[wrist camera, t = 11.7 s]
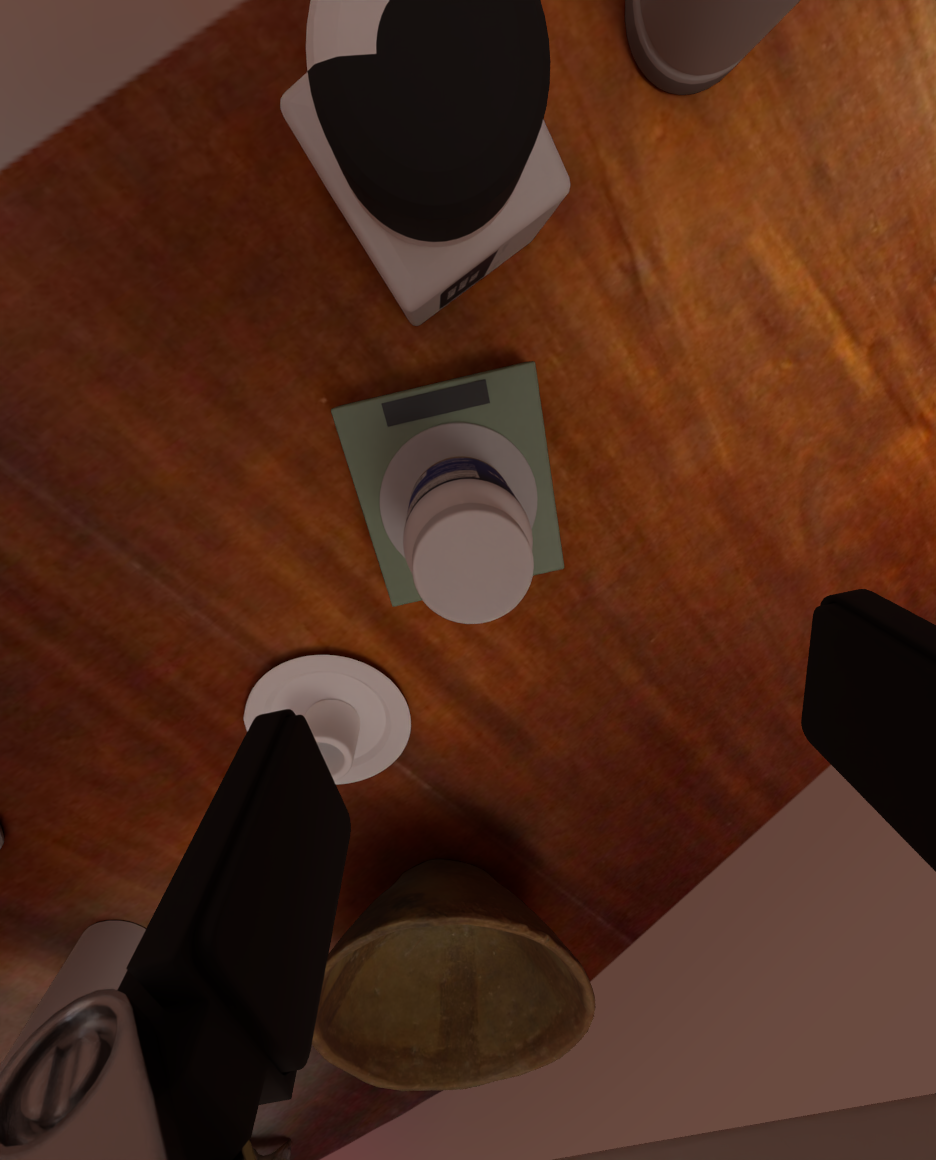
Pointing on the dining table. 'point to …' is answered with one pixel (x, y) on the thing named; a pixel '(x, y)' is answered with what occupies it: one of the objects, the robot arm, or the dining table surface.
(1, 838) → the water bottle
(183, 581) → the dining table surface
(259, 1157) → the decorative bird
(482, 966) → the bowl
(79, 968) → the vase
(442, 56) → the container
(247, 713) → the candle holder
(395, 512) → the scale
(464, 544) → the pill bottle
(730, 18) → the travel mug
